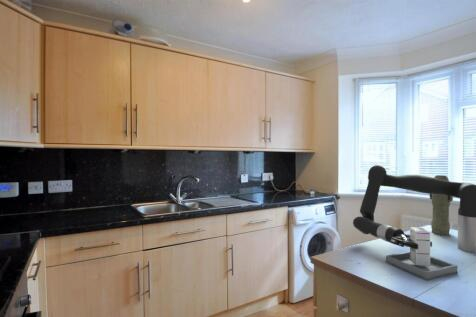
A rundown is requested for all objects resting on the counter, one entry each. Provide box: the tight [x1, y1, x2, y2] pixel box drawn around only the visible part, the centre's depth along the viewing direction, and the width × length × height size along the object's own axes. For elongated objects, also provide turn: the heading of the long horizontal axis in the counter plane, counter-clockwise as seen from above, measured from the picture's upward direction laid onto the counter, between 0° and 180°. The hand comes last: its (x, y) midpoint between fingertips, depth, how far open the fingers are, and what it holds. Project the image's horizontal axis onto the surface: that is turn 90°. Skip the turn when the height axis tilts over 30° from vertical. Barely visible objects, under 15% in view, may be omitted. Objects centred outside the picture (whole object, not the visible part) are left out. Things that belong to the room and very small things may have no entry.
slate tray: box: [385, 250, 458, 281], centre depth 113 cm, size 18×18×3 cm
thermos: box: [429, 174, 454, 236], centre depth 161 cm, size 9×12×35 cm
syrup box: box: [409, 226, 431, 266], centre depth 113 cm, size 6×6×14 cm
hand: (424, 245), depth 111 cm, fingers closed on syrup box, 8 cm apart
